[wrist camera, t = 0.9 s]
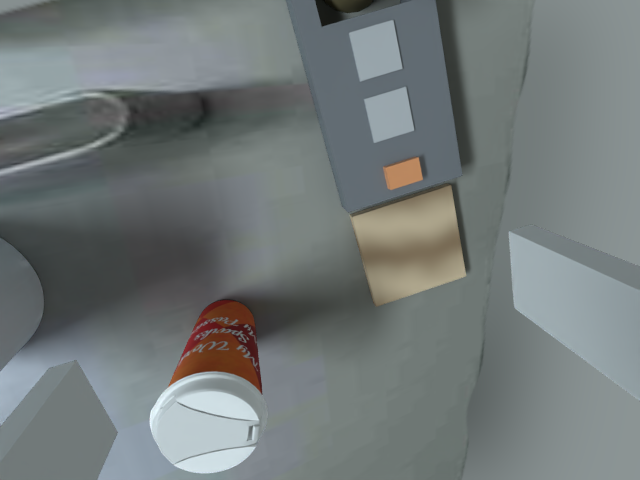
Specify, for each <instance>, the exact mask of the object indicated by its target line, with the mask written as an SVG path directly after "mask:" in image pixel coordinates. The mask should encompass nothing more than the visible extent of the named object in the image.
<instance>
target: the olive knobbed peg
mask: <svg viewBox="0 0 640 480" xmlns="http://www.w3.org/2000/svg"><path fill="white" fill-rule="evenodd" d="M323 1H324V2H325V3H326V4H327V5H329V6H330V7H332V8H333V9H335V10H337V11H341V12H345V13H351V12H358V11H360V10H362V9H364V8H366V7H368V6H369V5H370V4H371V3H372V2H373V1H374V0H323Z"/></svg>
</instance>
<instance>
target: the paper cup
mask: <svg viewBox="0 0 640 480" xmlns="http://www.w3.org/2000/svg"><path fill="white" fill-rule="evenodd" d="M267 420H268V410H267V405H266V402H265V399H264V397H263V396H262V383H261V375H260V367H259V358H258V348H257V338H256V329H255V322H254V318H253V315H252V313H251V312H250V310H249V309H248V308H247V307H246V306H245V305H243V304H241V303H239V302H237V301H233V300H220V301H217V302H214V303H212V304H210V305H209V306H207V307H206V308H205V309H204V310H203V312H202V313H201V315H200V316H199V318H198V320H197V322H196V325H195V327H194V329H193V331H192V333H191V336H190V338H189V340H188V342H187V345H186V347H185V349H184V352H183V354H182V356H181V358H180V361H179V363H178V365H177V368H176V370H175V372H174V375H173V377H172V379H171V382H170V384H169V386H168V388H167V389H166V390H165V391H164V392H163V393H162V395H161V396H160V397H159V399H158V401H157V402H156V404H155V406H154V407H153V409H152V410H151V413H150V427H151V431H152V434H153V437H154V439H155V441H156V443H157V444H158V447H159V449H160V451H161V452H162V454H163V455H164V456H165V457H166V458H167V459H168V460H169V461H170V462H171V463H172V464H173V465H175V466H176V467H178V468H181V469H183V470H186V471H190V472H195V473H215V472H220V471H223V470H227V469H230V468H232V467H234V466H236V465H238V464H239V463H241V462H242V461H244V460H245V459H246V458H247V457H248V456H249V455H250V454H251V453H252V452H253V451H254V449H255V447H256V446H257V444H258V440H259V439H260V437H261V436H262V434H263V433H264V430H265V428H266V425H267Z"/></svg>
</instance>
